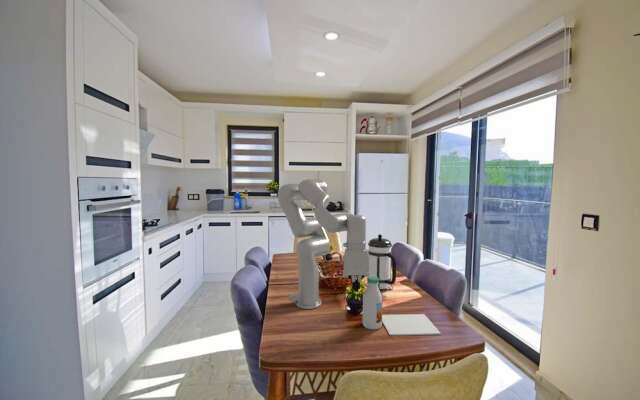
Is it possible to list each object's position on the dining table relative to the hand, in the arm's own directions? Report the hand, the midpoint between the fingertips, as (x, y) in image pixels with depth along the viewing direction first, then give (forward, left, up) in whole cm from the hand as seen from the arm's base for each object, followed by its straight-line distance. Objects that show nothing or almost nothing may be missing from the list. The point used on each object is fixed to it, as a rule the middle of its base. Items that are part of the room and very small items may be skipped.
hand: (355, 290), depth 118 cm
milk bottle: (+7, 0, -15) cm, 16 cm away
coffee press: (+21, +40, -15) cm, 48 cm away
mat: (+22, 0, -15) cm, 26 cm away
